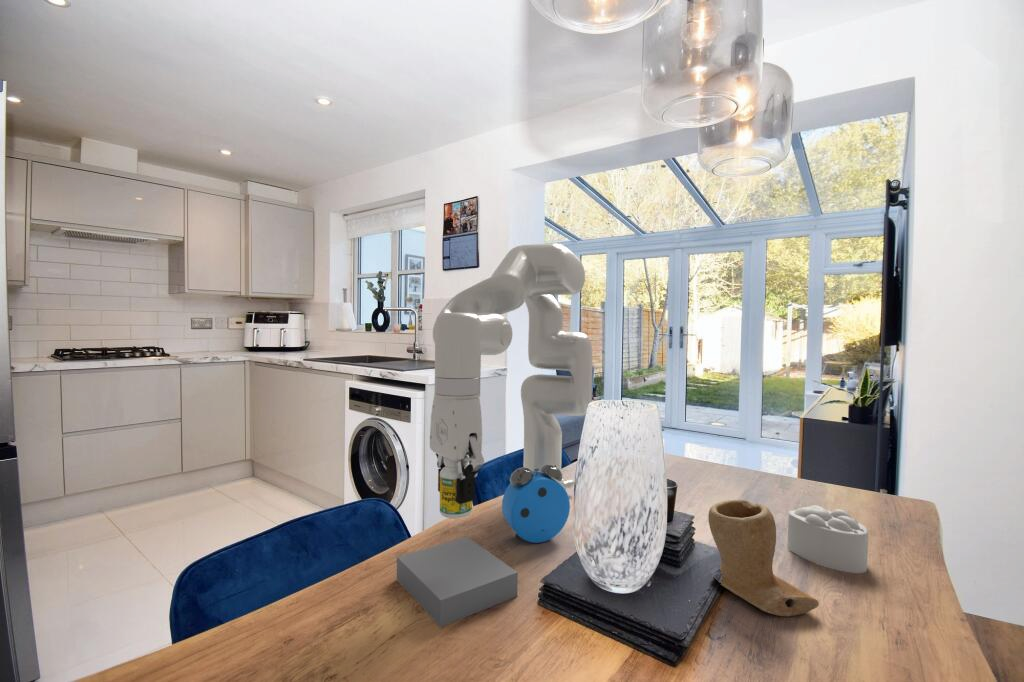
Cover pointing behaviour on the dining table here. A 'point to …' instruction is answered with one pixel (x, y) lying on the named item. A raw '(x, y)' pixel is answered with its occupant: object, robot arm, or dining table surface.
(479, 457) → the robot arm
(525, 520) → the alarm clock
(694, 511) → the dining table surface
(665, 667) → the dining table surface
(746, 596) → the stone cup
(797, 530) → the lumpy-topped squat cylinder
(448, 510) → the supplement bottle
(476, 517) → the dining table surface
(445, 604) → the riser block
